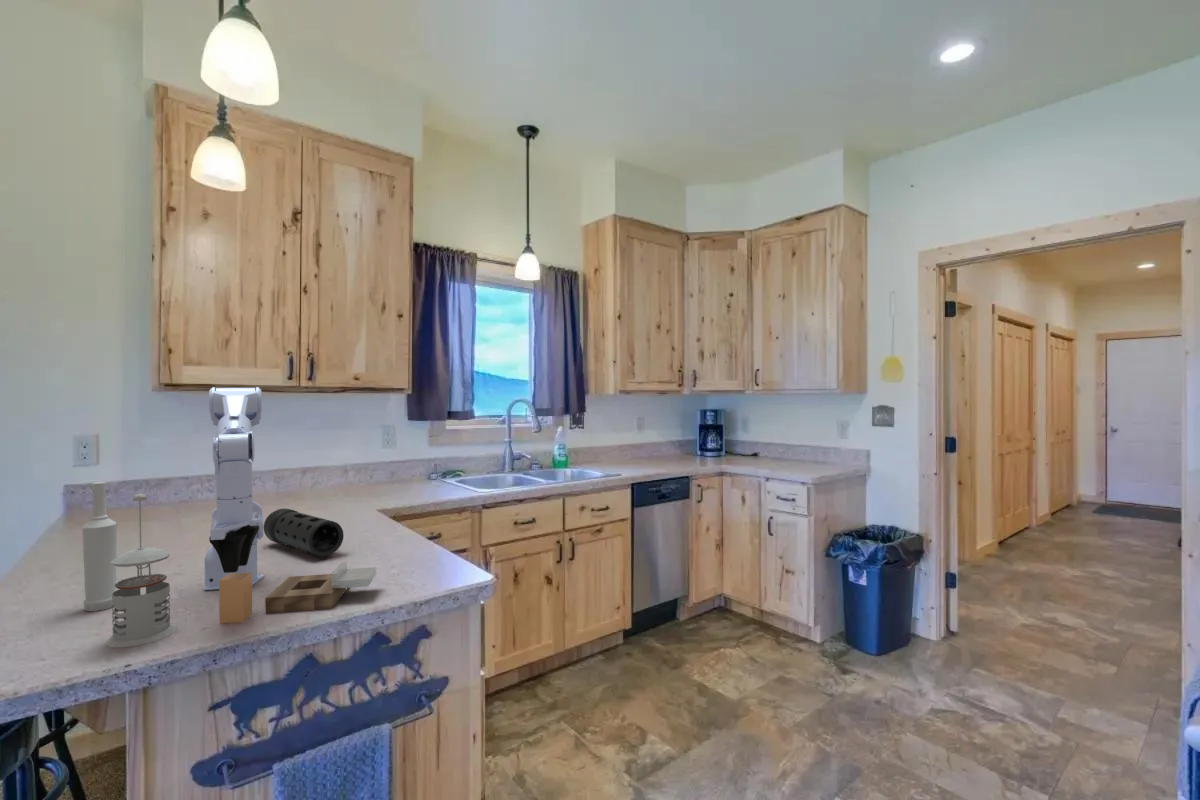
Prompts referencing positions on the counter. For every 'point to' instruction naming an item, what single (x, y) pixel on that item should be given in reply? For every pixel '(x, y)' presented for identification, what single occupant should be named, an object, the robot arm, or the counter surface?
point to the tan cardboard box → (235, 597)
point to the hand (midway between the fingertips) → (235, 568)
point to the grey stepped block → (351, 576)
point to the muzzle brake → (304, 532)
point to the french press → (140, 598)
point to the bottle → (99, 554)
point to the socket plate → (303, 594)
